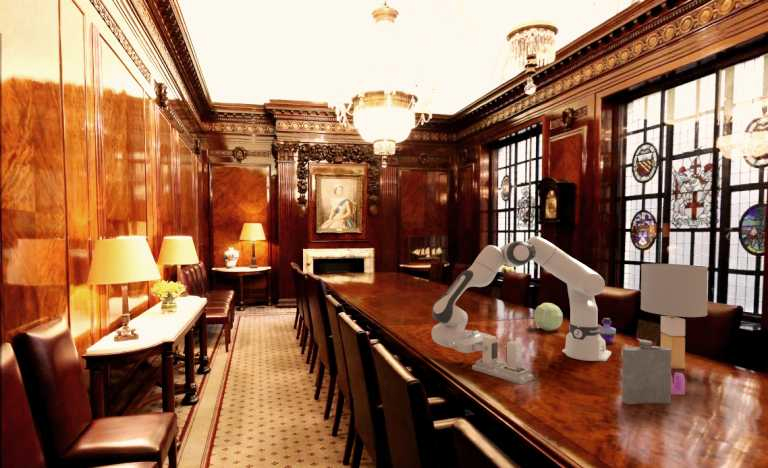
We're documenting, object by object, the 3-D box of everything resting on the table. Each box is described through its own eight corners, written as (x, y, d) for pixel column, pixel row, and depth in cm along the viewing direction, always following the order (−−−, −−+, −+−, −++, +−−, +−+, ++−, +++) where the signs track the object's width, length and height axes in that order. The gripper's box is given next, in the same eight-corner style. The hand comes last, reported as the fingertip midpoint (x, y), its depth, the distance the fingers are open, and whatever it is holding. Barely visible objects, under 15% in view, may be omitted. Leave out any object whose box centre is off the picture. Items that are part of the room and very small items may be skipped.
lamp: (721, 375, 164) (722, 268, 164) (662, 374, 165) (663, 268, 164) (680, 357, 187) (681, 263, 187) (629, 357, 187) (629, 263, 187)
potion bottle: (619, 344, 209) (620, 320, 209) (602, 344, 209) (602, 320, 209) (610, 339, 217) (611, 316, 217) (593, 339, 217) (594, 316, 217)
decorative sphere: (529, 327, 245) (529, 301, 245) (553, 326, 247) (554, 301, 246) (541, 333, 230) (542, 306, 230) (567, 332, 232) (568, 305, 232)
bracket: (684, 394, 145) (685, 374, 145) (668, 394, 145) (668, 374, 145) (662, 381, 158) (662, 362, 158) (646, 381, 158) (646, 362, 158)
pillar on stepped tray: (484, 365, 176) (484, 332, 176) (533, 379, 159) (533, 343, 159) (471, 369, 170) (472, 336, 170) (521, 384, 154) (521, 347, 154)
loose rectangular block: (488, 364, 172) (488, 335, 172) (498, 367, 168) (498, 337, 168) (482, 366, 169) (482, 336, 169) (492, 369, 166) (492, 338, 165)
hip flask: (626, 404, 136) (626, 342, 136) (618, 399, 140) (618, 339, 140) (673, 403, 137) (673, 342, 137) (664, 398, 141) (664, 339, 141)
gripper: (447, 337, 171) (475, 344, 161) (478, 329, 185) (505, 335, 175) (447, 352, 172) (475, 360, 161) (477, 343, 185) (505, 350, 175)
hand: (491, 347), depth 168 cm, fingers open, 6 cm apart
